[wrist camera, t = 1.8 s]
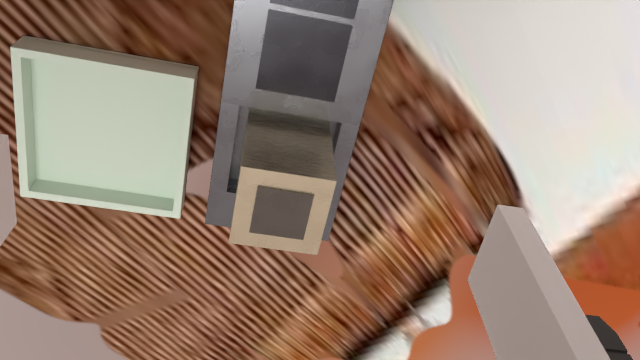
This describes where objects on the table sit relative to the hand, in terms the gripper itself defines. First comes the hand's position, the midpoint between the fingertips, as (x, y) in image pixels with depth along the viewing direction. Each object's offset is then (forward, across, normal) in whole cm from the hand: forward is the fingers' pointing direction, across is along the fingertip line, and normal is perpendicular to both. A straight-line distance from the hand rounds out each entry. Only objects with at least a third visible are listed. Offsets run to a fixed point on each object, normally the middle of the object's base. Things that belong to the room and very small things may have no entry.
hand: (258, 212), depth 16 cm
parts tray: (+27, -11, -13) cm, 32 cm away
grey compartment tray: (+28, +2, -7) cm, 28 cm away
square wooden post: (+27, +2, -12) cm, 30 cm away
